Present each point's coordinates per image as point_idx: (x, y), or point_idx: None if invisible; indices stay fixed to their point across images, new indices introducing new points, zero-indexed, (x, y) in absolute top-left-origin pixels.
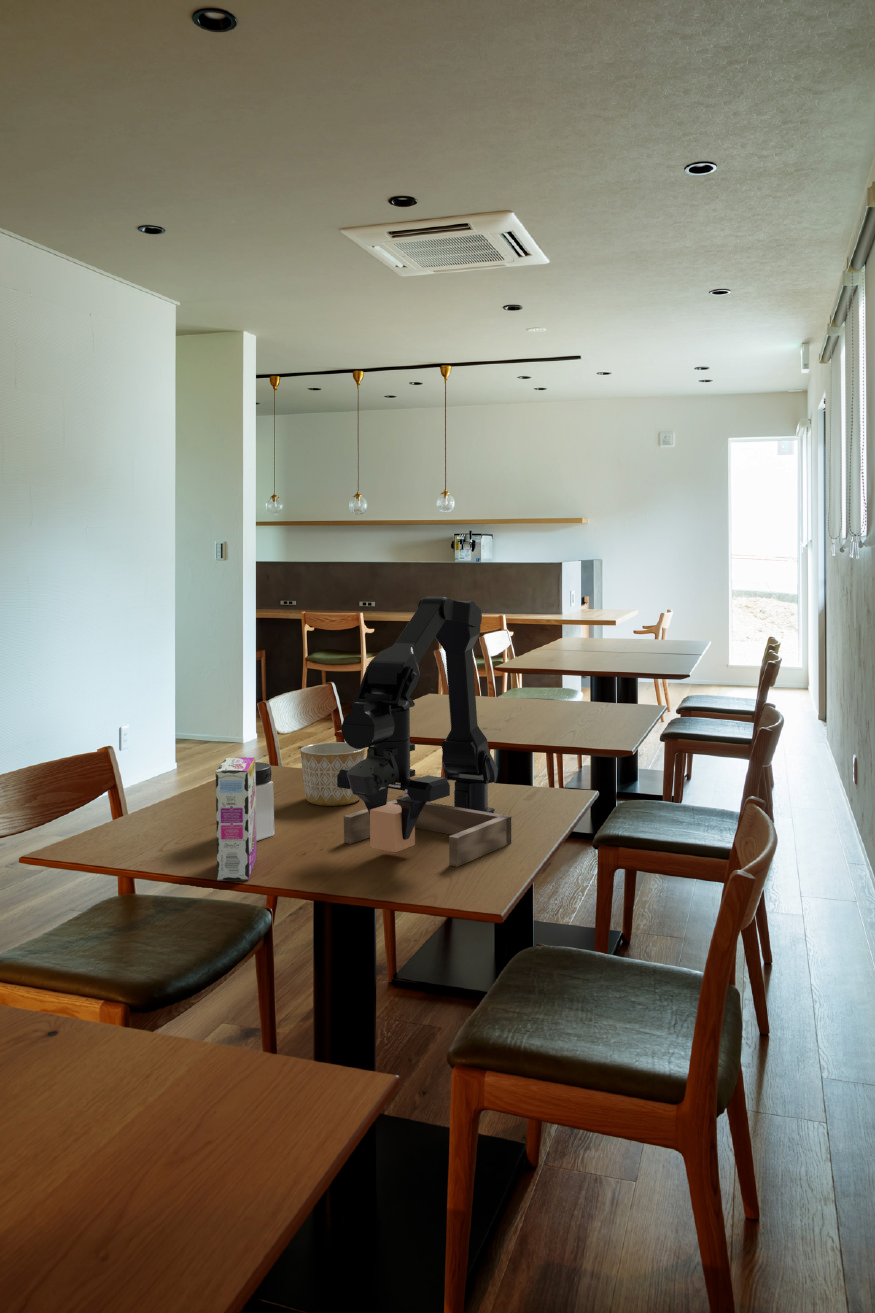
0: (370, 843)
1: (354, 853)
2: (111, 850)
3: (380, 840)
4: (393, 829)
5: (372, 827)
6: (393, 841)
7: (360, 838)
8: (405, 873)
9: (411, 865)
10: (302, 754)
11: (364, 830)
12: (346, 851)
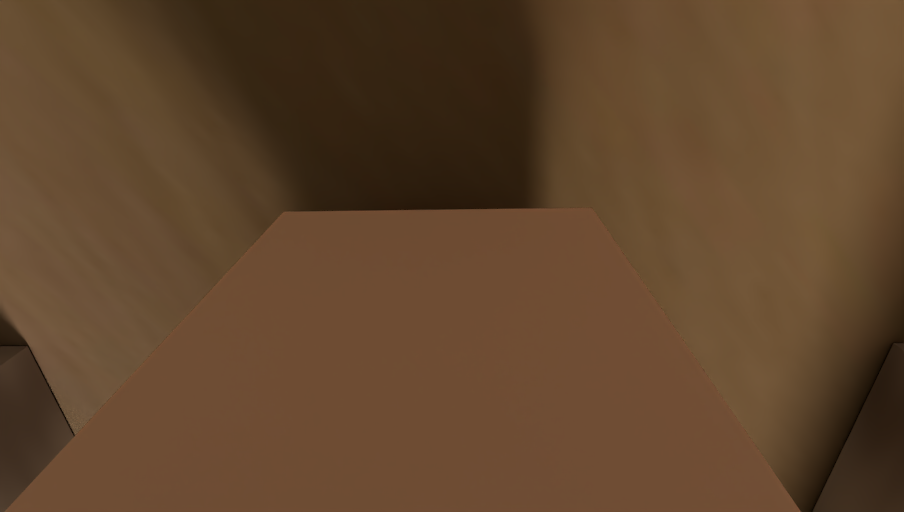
0: (598, 220)
1: (759, 194)
2: None
3: (463, 248)
4: (181, 346)
5: (624, 327)
6: (262, 257)
7: (867, 434)
8: (39, 18)
9: (190, 213)
10: None
11: (888, 507)
12: (851, 198)
